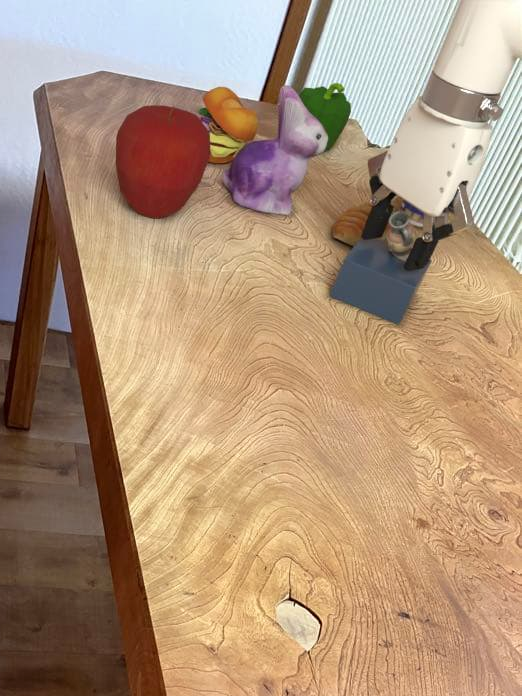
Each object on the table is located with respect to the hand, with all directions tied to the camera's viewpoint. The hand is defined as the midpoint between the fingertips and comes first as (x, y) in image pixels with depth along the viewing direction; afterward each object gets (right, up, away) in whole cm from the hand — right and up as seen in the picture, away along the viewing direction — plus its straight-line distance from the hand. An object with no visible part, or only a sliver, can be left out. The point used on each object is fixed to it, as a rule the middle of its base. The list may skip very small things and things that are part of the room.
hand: (392, 251), depth 107 cm
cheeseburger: (-19, +23, +27) cm, 41 cm away
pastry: (0, +7, +16) cm, 18 cm away
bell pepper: (-2, +29, +37) cm, 48 cm away
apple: (-29, +8, +10) cm, 31 cm away
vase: (0, -1, +1) cm, 1 cm away
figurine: (-13, +13, +18) cm, 26 cm away
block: (-1, -4, +4) cm, 6 cm away
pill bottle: (+11, +12, +24) cm, 29 cm away
